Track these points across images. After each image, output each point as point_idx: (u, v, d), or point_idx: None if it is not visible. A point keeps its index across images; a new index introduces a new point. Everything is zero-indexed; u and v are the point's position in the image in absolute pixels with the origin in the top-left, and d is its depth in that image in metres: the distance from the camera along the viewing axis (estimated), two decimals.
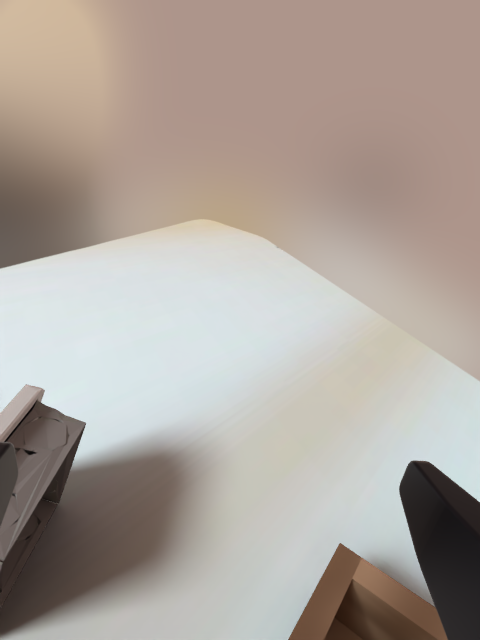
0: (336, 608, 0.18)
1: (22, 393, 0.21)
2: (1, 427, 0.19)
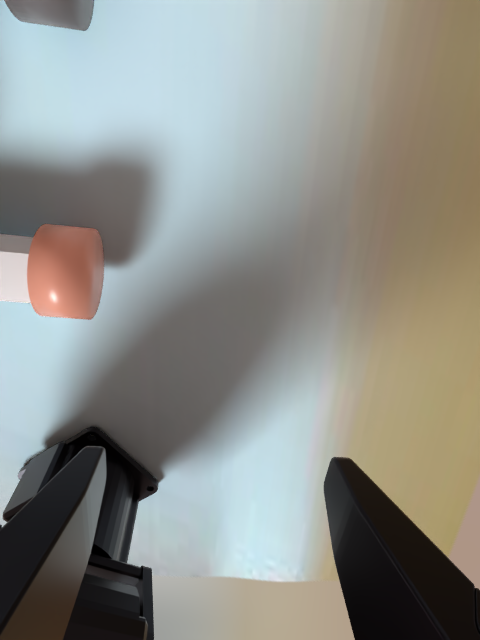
0: None
1: None
2: None
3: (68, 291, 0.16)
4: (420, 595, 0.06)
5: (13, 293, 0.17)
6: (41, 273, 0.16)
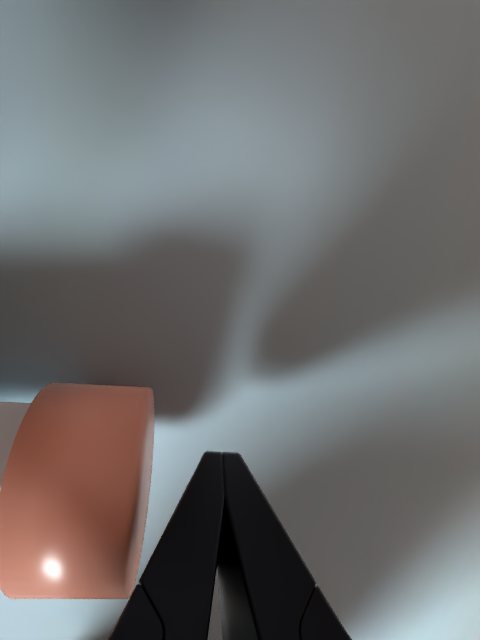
0: None
1: None
2: None
3: (96, 580, 0.07)
4: (253, 593, 0.06)
5: None
6: (30, 549, 0.07)
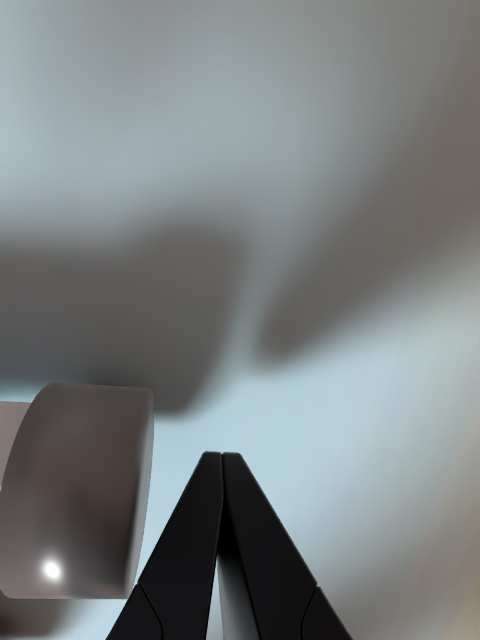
0: None
1: None
2: None
3: None
4: (254, 593, 0.06)
5: None
6: None
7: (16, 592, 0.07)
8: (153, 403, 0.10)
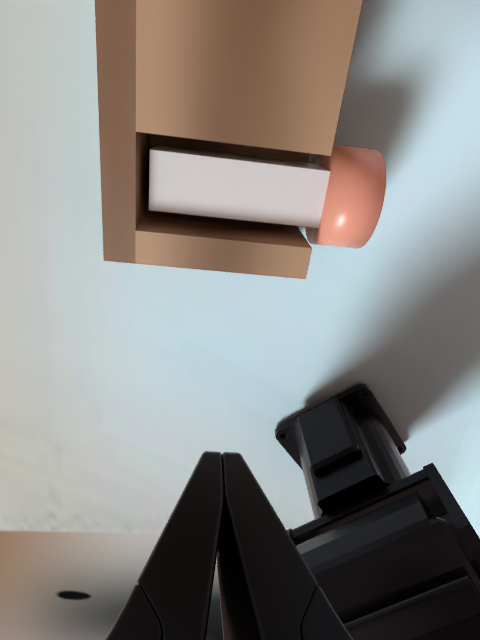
0: None
1: None
2: None
3: (369, 209, 0.16)
4: (254, 594, 0.06)
5: (296, 215, 0.16)
6: (347, 189, 0.15)
7: None
8: None
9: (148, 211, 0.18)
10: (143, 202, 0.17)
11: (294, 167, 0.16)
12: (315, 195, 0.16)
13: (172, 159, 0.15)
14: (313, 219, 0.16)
